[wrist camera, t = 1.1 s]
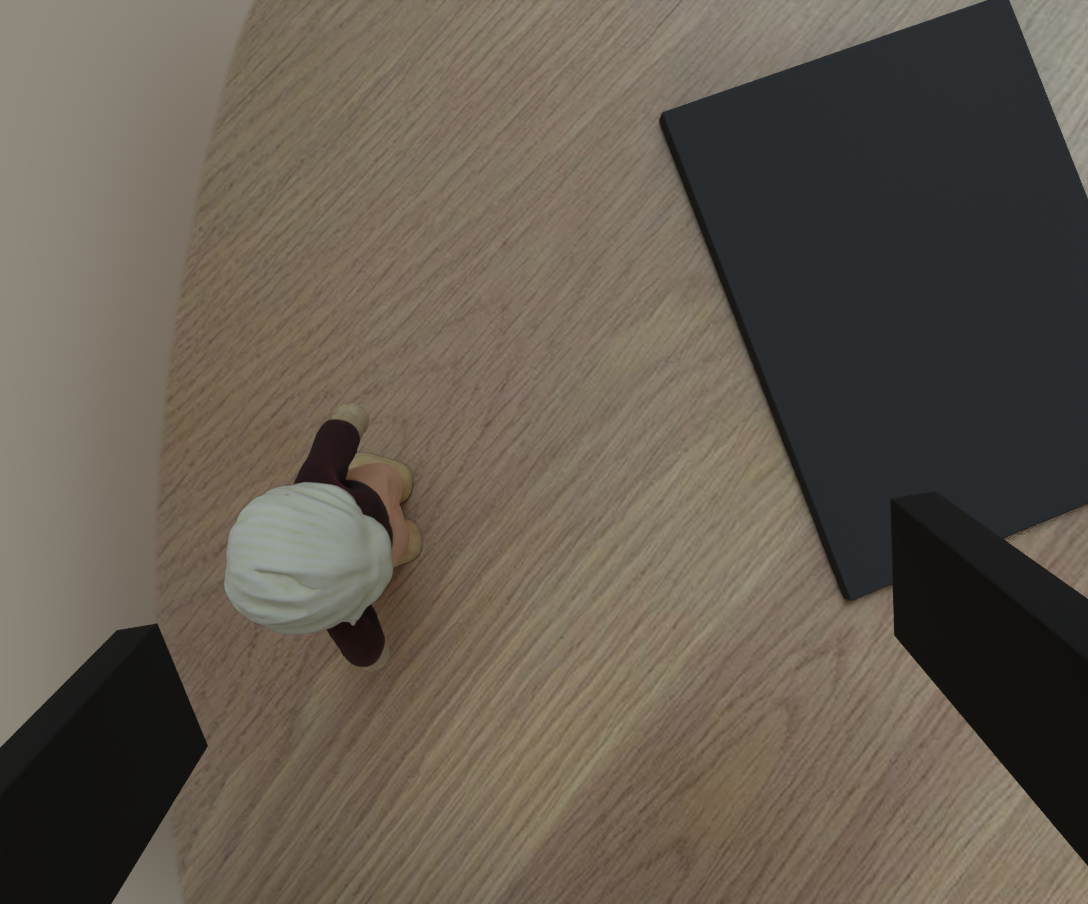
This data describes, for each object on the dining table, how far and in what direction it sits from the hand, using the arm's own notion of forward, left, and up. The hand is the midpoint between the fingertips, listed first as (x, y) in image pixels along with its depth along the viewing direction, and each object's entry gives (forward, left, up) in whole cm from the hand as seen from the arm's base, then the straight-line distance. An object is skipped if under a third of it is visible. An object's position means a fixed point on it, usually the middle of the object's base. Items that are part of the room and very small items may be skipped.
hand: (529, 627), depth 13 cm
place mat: (-4, +19, -14) cm, 24 cm away
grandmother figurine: (-3, -4, -14) cm, 15 cm away
